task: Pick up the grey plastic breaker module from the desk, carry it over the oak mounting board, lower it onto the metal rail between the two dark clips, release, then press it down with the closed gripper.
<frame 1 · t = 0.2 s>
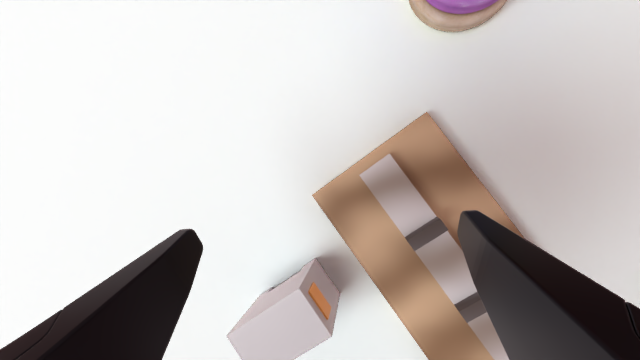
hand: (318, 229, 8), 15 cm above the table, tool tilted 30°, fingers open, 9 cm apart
module: (298, 294, 24), on the table
rail base: (441, 257, 22), on the table
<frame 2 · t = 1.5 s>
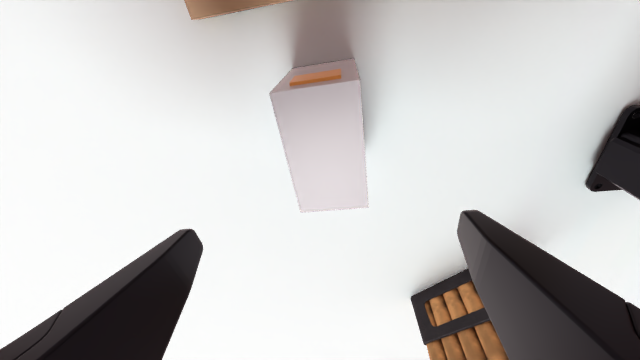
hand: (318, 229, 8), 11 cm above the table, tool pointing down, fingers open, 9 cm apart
module: (330, 116, 18), on the table
ammunition clip: (454, 279, 27), on the table
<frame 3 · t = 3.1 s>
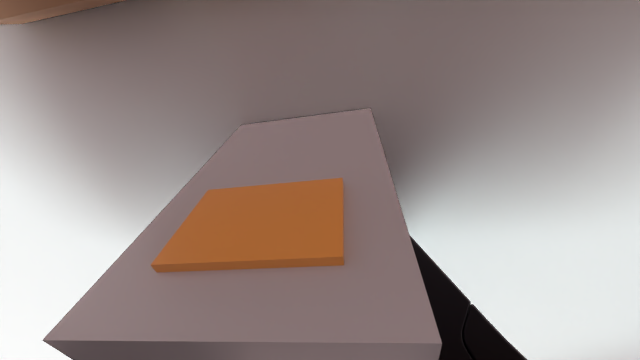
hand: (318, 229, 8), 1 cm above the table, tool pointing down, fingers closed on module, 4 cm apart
module: (321, 206, 9), on the table, touching gripper
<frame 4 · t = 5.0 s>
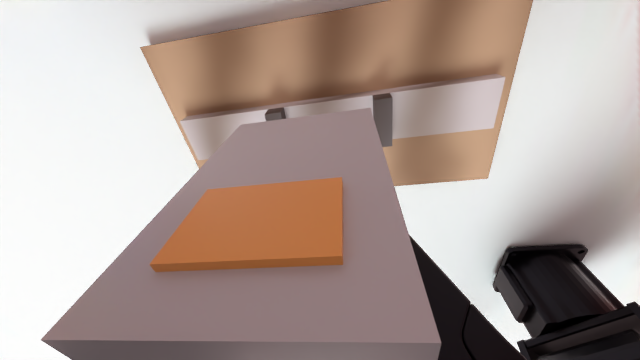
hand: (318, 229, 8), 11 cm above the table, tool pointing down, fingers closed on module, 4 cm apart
module: (320, 206, 9), point 10 cm above the table, touching gripper
rail base: (331, 114, 18), on the table
when the fingers open (3 cm above the table, at t = 7.1 s): module stays where it is, resting on rail base.
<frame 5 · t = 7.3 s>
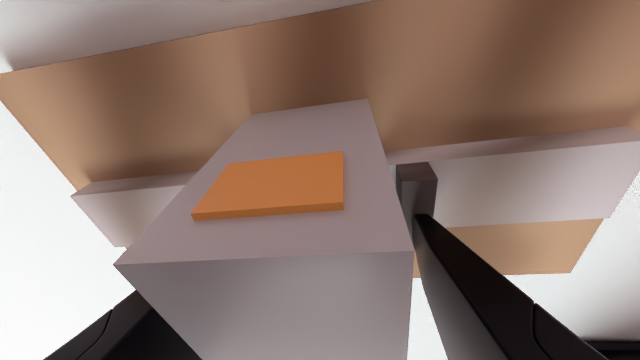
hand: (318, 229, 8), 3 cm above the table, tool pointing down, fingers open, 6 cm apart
module: (322, 191, 10), point 1 cm above the table, touching rail base
rail base: (323, 177, 11), on the table
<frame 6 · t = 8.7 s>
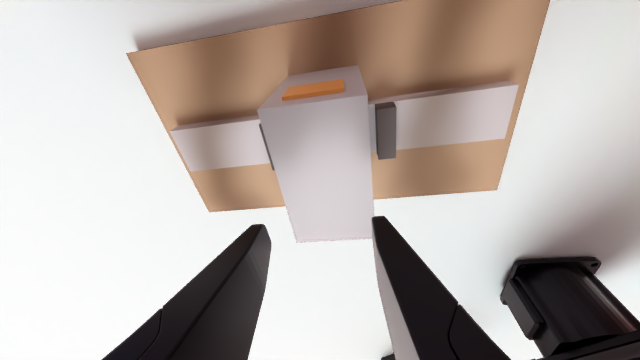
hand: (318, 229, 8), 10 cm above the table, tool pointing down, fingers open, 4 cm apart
module: (330, 128, 16), point 1 cm above the table, touching rail base
rail base: (330, 122, 17), on the table
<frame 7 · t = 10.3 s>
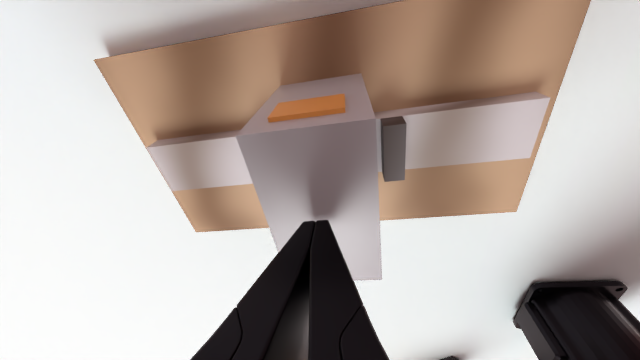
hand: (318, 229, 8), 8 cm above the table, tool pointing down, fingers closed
module: (329, 144, 14), point 1 cm above the table, touching rail base
rail base: (329, 137, 15), on the table
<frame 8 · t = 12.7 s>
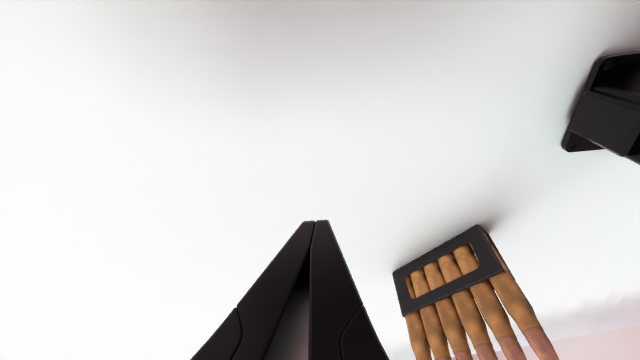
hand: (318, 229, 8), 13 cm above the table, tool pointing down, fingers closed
ammunition clip: (435, 253, 27), on the table
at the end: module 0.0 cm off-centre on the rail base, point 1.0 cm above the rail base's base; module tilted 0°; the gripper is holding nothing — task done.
